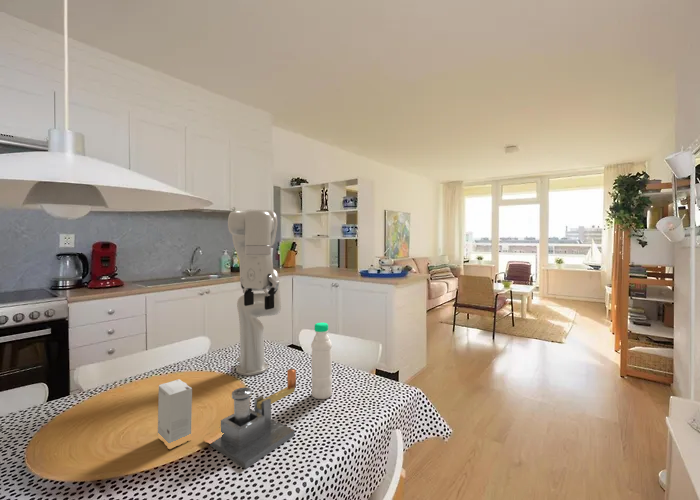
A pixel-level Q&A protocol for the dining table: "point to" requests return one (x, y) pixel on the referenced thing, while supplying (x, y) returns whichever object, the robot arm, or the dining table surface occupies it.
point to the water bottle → (321, 363)
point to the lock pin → (283, 393)
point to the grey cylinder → (241, 405)
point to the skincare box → (174, 410)
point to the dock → (252, 436)
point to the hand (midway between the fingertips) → (258, 306)
